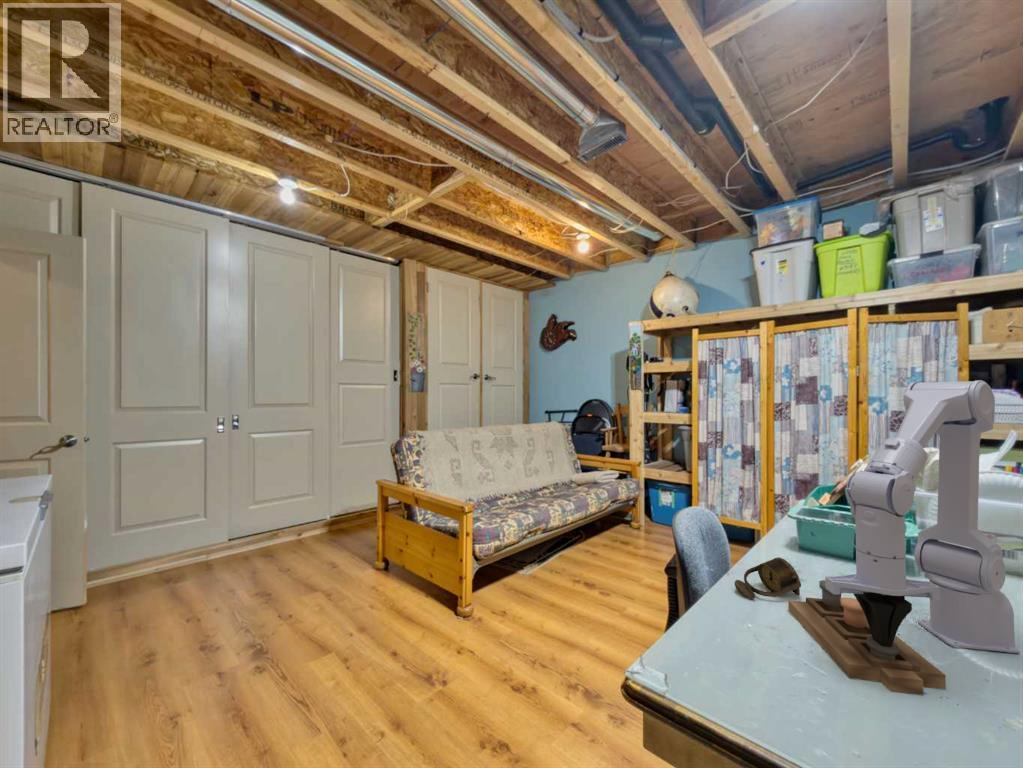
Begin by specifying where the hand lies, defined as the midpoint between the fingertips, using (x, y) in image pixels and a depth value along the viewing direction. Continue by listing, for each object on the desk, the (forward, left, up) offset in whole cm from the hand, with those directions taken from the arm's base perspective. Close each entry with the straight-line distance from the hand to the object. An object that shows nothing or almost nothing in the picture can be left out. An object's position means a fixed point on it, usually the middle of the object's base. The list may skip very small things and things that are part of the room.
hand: (882, 643), depth 64 cm
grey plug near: (0, 0, -3) cm, 3 cm away
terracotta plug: (0, -7, -1) cm, 7 cm away
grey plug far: (0, -14, -1) cm, 14 cm away
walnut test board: (0, -7, -4) cm, 8 cm away
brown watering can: (+7, -25, -4) cm, 26 cm away
